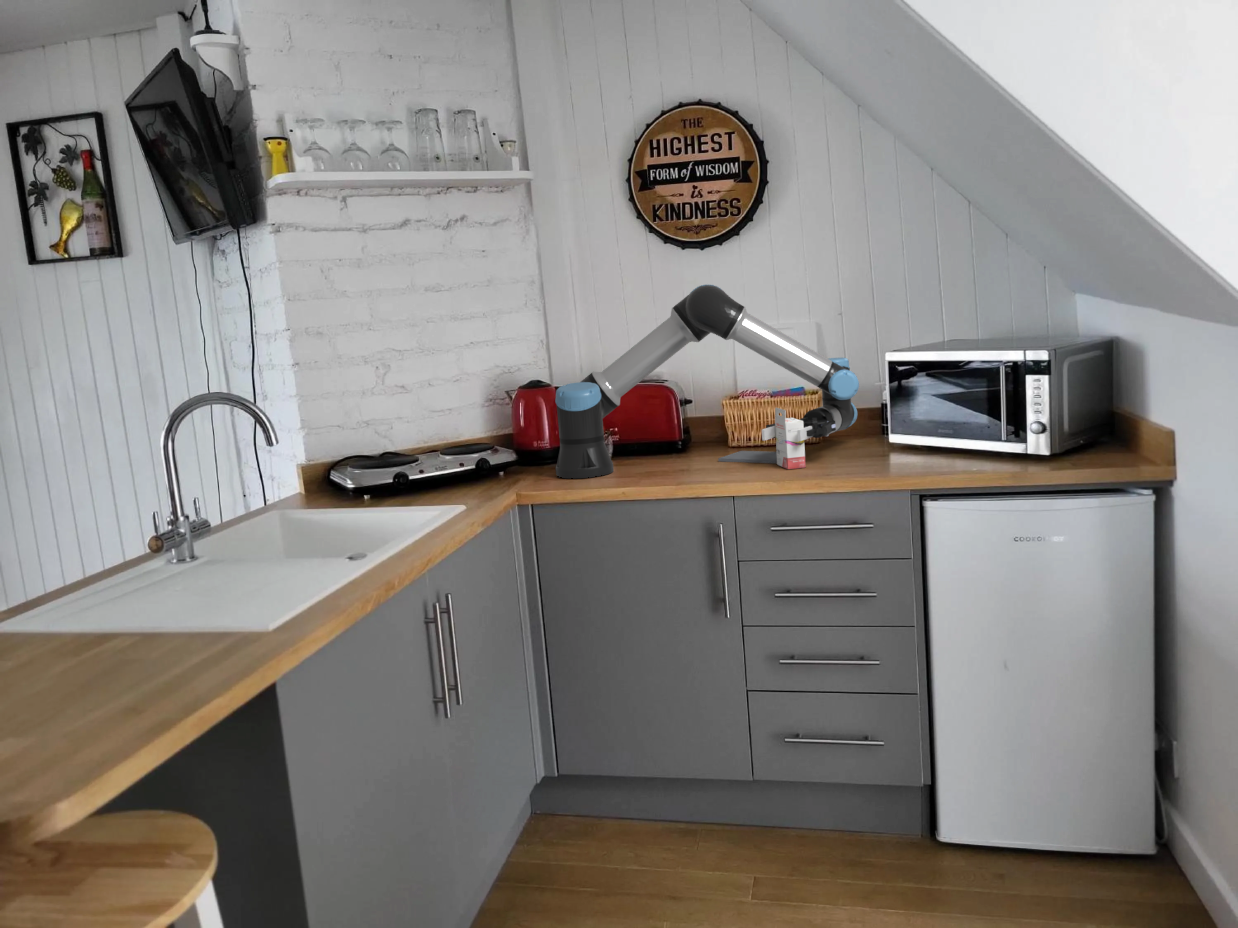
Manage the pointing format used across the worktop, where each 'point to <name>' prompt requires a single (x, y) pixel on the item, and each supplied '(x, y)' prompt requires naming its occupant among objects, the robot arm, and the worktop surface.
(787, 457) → the ink cartridge box
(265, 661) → the worktop surface
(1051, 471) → the worktop surface
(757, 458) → the charcoal mat
